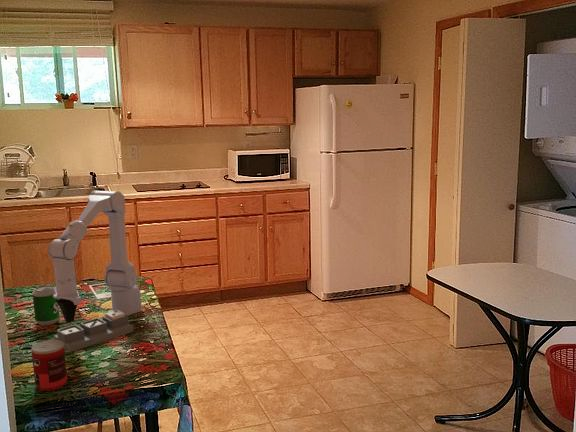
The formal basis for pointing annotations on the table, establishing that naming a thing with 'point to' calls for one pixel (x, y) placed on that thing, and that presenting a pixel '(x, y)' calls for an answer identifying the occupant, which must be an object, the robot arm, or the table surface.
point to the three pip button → (93, 323)
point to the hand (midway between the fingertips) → (69, 321)
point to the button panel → (93, 332)
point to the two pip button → (114, 315)
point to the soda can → (45, 305)
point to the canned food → (49, 365)
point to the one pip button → (70, 330)
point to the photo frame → (100, 296)
